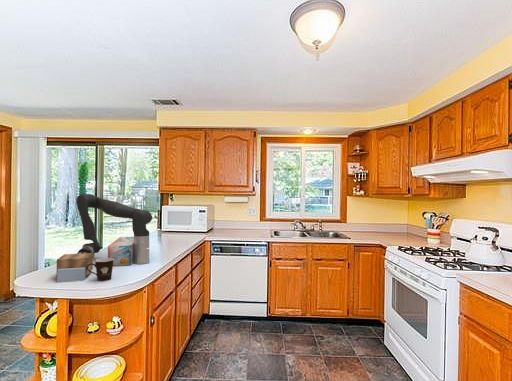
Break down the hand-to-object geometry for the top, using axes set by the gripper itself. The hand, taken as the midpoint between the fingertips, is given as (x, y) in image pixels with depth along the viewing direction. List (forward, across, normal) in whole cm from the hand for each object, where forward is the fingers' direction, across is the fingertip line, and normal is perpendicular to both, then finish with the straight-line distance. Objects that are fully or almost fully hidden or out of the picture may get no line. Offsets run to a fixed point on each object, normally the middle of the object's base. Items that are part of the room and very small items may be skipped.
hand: (78, 259), depth 175 cm
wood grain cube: (+7, 0, +6) cm, 9 cm away
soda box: (-30, +21, +8) cm, 38 cm away
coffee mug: (+18, +14, +8) cm, 24 cm away
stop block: (+16, 0, +8) cm, 18 cm away
